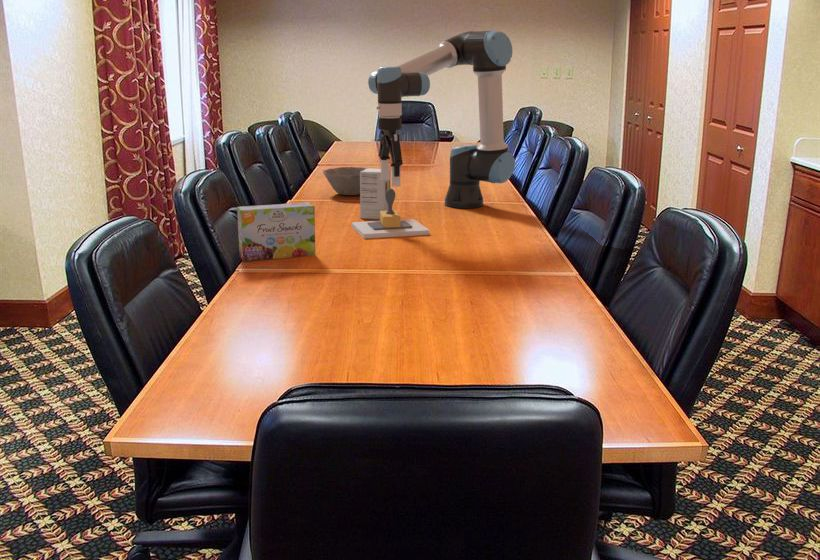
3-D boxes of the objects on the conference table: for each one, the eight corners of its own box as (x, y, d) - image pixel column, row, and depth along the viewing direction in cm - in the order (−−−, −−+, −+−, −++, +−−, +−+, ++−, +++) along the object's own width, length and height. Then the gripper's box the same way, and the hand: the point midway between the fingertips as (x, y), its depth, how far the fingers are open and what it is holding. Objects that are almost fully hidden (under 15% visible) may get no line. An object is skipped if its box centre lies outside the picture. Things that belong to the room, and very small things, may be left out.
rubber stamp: (400, 227, 245) (400, 191, 242) (382, 227, 245) (382, 191, 241) (396, 221, 255) (396, 185, 251) (379, 221, 254) (379, 186, 251)
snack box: (243, 262, 211) (240, 209, 206) (239, 257, 216) (236, 206, 211) (316, 255, 219) (314, 204, 214) (310, 251, 224) (309, 201, 219)
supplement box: (384, 220, 266) (384, 172, 261) (359, 218, 268) (359, 171, 263) (391, 214, 275) (391, 168, 270) (366, 213, 277) (366, 167, 272)
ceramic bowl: (388, 193, 318) (388, 169, 315) (355, 201, 299) (355, 176, 296) (346, 188, 329) (345, 165, 326) (312, 195, 310) (311, 171, 308)
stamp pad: (413, 223, 262) (413, 217, 261) (429, 234, 245) (429, 228, 244) (351, 226, 255) (351, 220, 255) (363, 238, 239) (363, 232, 238)
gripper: (369, 113, 250) (370, 177, 256) (388, 120, 227) (389, 190, 233) (390, 113, 252) (391, 176, 258) (412, 120, 229) (412, 188, 236)
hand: (390, 183), depth 246 cm, fingers open, 13 cm apart
